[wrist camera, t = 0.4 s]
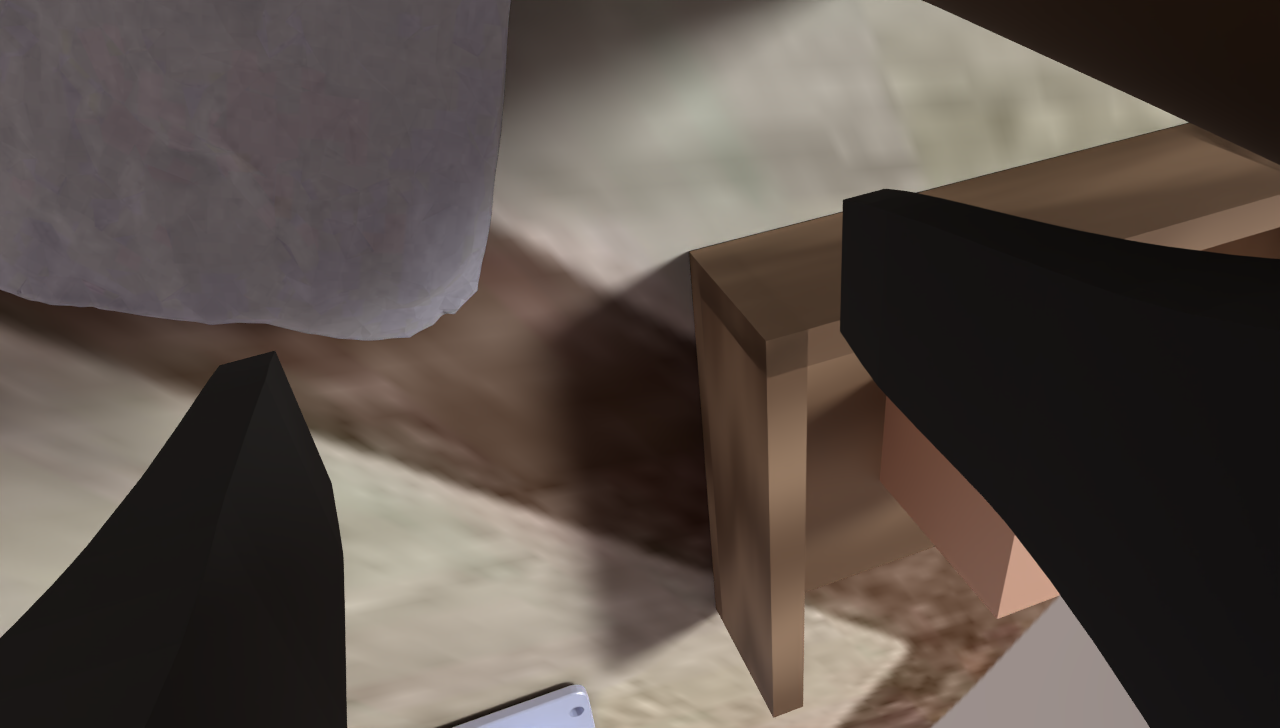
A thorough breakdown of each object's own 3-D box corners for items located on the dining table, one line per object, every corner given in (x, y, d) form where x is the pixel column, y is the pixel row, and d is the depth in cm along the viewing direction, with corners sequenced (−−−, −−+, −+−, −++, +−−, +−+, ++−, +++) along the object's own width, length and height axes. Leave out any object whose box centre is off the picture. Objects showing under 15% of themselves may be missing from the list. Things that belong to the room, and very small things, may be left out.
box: (1101, 473, 34) (1197, 555, 31) (716, 608, 31) (773, 717, 27) (1198, 120, 26) (1344, 176, 22) (689, 251, 23) (766, 341, 19)
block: (997, 441, 30) (1132, 567, 25) (879, 480, 29) (997, 619, 24) (1017, 330, 27) (1172, 448, 23) (888, 369, 26) (1021, 500, 22)
